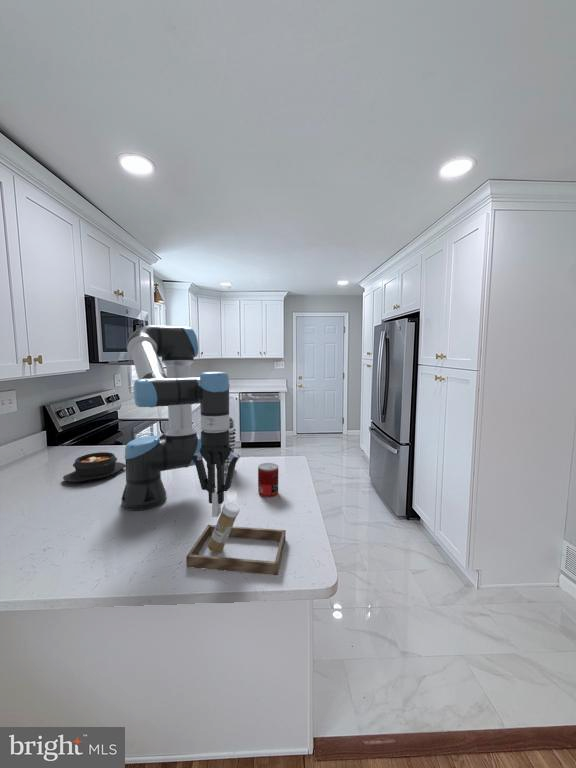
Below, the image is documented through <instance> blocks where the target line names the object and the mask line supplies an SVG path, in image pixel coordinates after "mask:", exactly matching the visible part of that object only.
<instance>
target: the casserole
mask: <svg viewBox="0 0 576 768" xmlns="http://www.w3.org/2000/svg"><path fill="white" fill-rule="evenodd" d="M72 466H73V468H74V469H75V470H74V471H72V472H70V473H68V474H64V476H63V477H62V479H63V480H64V481H65V482H71V483H78V482H84V481H94V480H101V479H103V478H107V477H108V476H111V475H114V474H116V473H117V472H119V471H121V470H123V469H126V463H123V462H119V461H118V458H117V457H116V455H115V454H114V453H113V452H101V451H99V452H93V453H92V452H91V453H87V454H84V455H81V456H79V457H77V458H75V461H74V463H72Z"/></svg>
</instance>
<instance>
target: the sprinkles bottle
mask: <svg viewBox="0 0 576 768" xmlns="http://www.w3.org/2000/svg"><path fill="white" fill-rule="evenodd" d="M239 513H240V506H239V505H238V504H237V503H235V502H233V501H227V502H224V504H223V506H222V508H221V513H220V514H219V516H218V517H219V518H218V520H217V522H216V524H215V525H216V526H215V529H214V531H213V534H212V536H211V537H210V539H209V542H208V544H207V548H208V549H209V551H210V552H212V553H214V554H219V553H222V552H223V550H224V548H225V545H226V542H227V541H228V538H229V537H228V536H229V534H230V531H231V529H232V527H233V526H234V523H235V521H236V518H237V517H238V516H239Z"/></svg>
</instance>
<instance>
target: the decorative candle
mask: <svg viewBox="0 0 576 768" xmlns="http://www.w3.org/2000/svg"><path fill="white" fill-rule="evenodd" d="M234 421H235V420H234V419H233V418H232V417H231V416H229V426H230V427H229V428H228V430H229V431H230V448H231V450H232V451H231V452H232V453H234V454H235V446H236V444H235V442H236V440H235V439H236V436H234V435H236V434H237V433H236V431H237V430H236V428H235V425H234ZM229 459H230V457H229V456H228V458H227V459H226V461H225V464H224V473H226V474H227V472H228V468H229V464H230V461H229ZM235 471H236V469H235V470H234V472H235Z"/></svg>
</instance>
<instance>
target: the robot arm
mask: <svg viewBox="0 0 576 768" xmlns="http://www.w3.org/2000/svg"><path fill="white" fill-rule="evenodd" d="M126 351H127V354H128V355H129V357H130V358H131V359H132V360H133V364H134V368H135V372H136V374H137V375H136V376H137V379H136V380H134V383H133V398H134V404H135V405H136V407H138V408H157V407H167V409H168V410H167V411H168V412H167V413H168V415H167V416H168V429H167V430H166V432H165V433H164V438H162V439H160V437H159V436H158V435H146V436H141V437H138V438H134V439H132V440H130V441H129V442H128V443H126V445H125V447H124V457H123V458H124V459H125V460H124V461H125V465H126V467H125V486H124V489H123V492H122V496H121V507H122V508H123V509H125V510H129V511H145V510H148V509H152V508H155V507H157V506H160V505H161V504H163V503H165V501H166V499H167V490H166V488H165V485H164V483H163V481H162V479H161V478H162V477H161V476H162V475H161V472H164V471H170V470H176V469H182V468H188V467H193V466H195V468H196V472H197V477H198V480H199V483H200V488H201V490H202V491H206V492H208V503H209V504H211V515H212V516H211V517H213V518H218V517H220V515H221V512H222V508H221V507H222V506H221V505H222V504H223V503H224V502H225V492H227V491H229V489H230V488H231V486H232V482H233V478H234V474H235V471H236V464H237V462H238V461H239V459H241V458H240V457H241V456H240V455H239V454H235V452H234V453H232V452H231V451H232V450H231V448H230V431H229V430H228V428H229V427H230V426H229V417H230V387H231V386H230V378H229V377H230V376H229V374H228V373H227V372H225V371H206V372H201V373H200V375H199V376H195V377H191V365H192V364H193V363H194V361H195V359H194V358H196V357H198V355H199V341H198V338H197V335H196V332H195V331H194V329H193V328H191V327H188V326H182V325H179V326H177V325H157V324H151V325H150V324H148V325H144V326H142V327H138V329H136V330H135V331H133V332H132V333H131V335H129V337H128V339H127V342H126ZM160 358H161V359H160ZM162 364H163V365H164V366H165V368H166V372H165V369H164V367H163V365H162ZM194 404H195V405H197V404H200V429H201V431H200V435H199V434H197V433H198V432H197V430H196V429H195V428H193V414H192V413H193V409H192V405H194ZM228 456H229V457H230V459H229V461H230V464H229V468H228V472H227V473H226V476H225V474H224V464H225V461H226V459H227V458H228ZM203 459H204V460H205V463H206V467H205V463H204V460H203ZM206 468H207V472H206ZM234 470H235V471H234ZM225 477H226V478H225Z"/></svg>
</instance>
